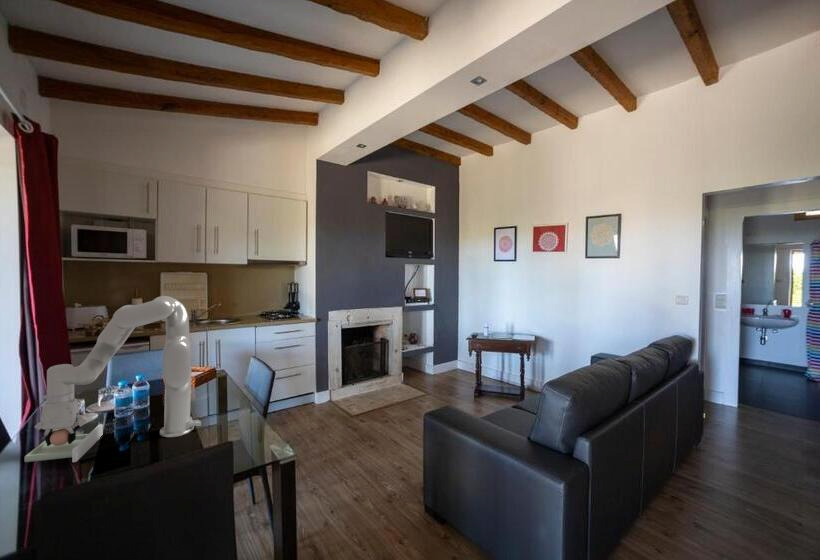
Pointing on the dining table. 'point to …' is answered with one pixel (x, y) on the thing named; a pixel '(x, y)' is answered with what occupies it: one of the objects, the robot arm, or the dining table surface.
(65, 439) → the ball
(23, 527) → the dining table surface
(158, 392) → the dining table surface
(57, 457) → the tray
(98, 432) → the wall
